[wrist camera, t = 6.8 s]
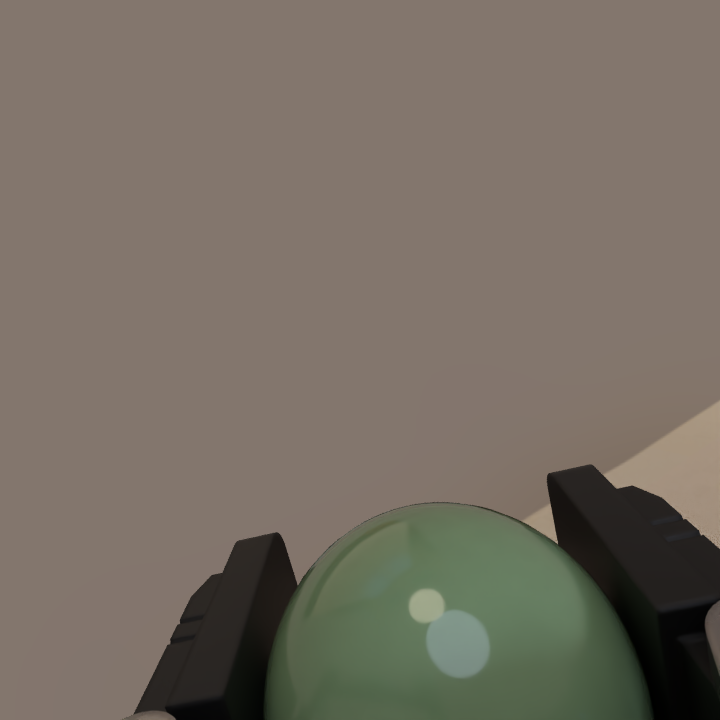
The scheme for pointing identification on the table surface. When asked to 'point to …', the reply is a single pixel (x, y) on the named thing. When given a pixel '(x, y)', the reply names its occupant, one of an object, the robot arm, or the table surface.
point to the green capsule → (451, 628)
